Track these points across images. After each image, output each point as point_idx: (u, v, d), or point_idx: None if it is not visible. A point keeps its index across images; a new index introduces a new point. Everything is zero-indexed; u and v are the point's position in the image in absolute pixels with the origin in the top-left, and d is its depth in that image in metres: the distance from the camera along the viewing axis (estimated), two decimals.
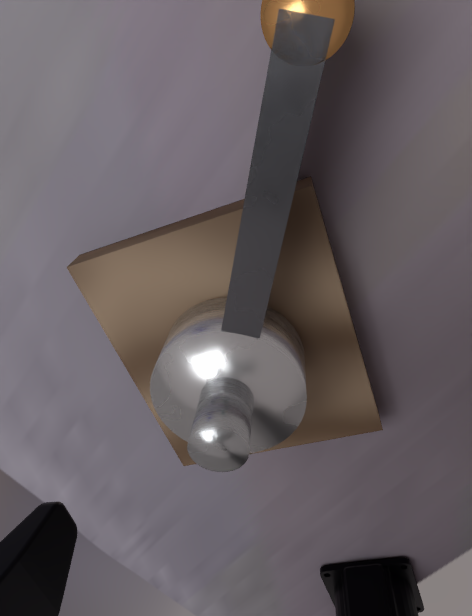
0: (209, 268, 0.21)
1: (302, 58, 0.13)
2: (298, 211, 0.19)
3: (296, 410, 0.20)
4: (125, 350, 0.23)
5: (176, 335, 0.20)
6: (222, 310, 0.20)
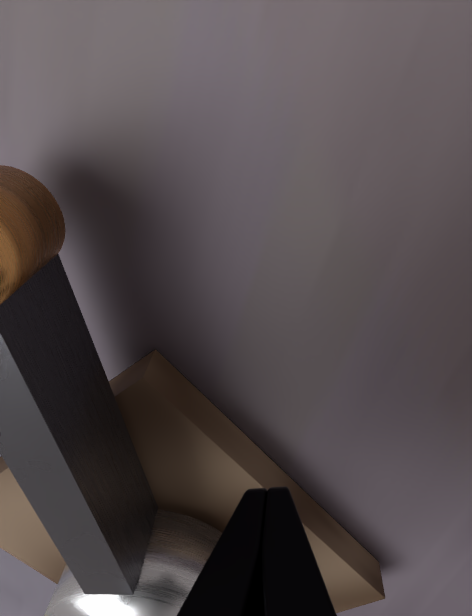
0: None
1: None
2: (144, 407, 0.14)
3: None
4: (48, 571, 0.20)
5: (57, 587, 0.16)
6: None
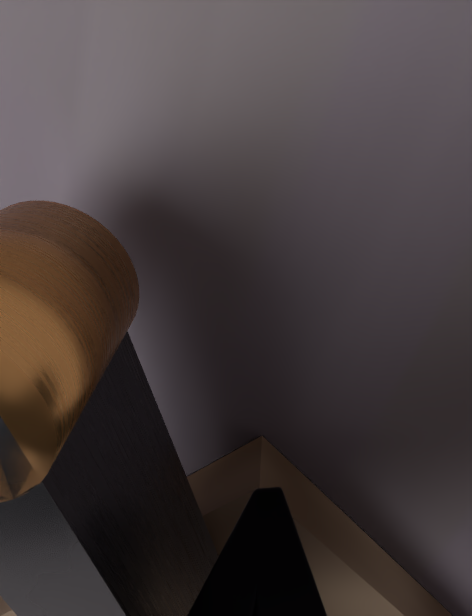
0: None
1: None
2: None
3: None
4: None
5: None
6: None
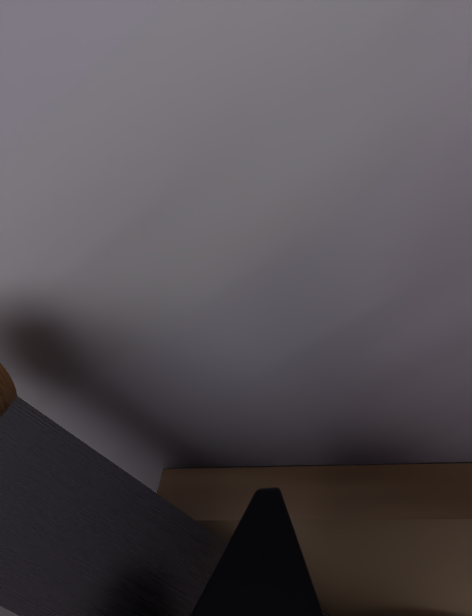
0: (431, 576, 0.11)
1: None
2: None
3: None
4: None
5: None
6: None
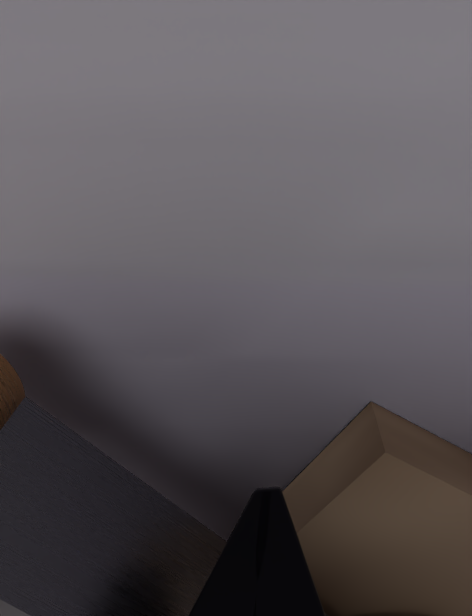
0: None
1: None
2: None
3: None
4: None
5: None
6: None
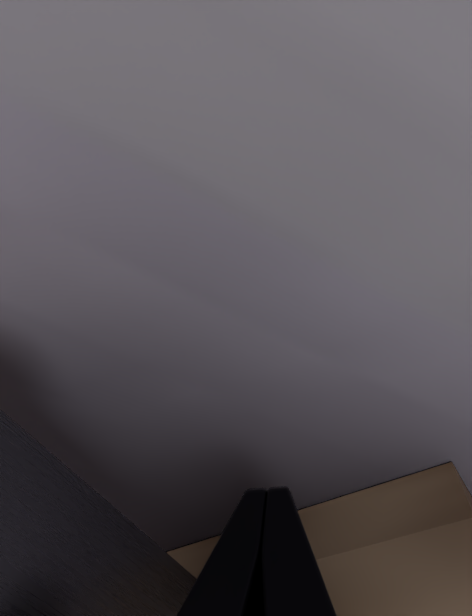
0: None
1: None
2: None
3: None
4: None
5: None
6: None
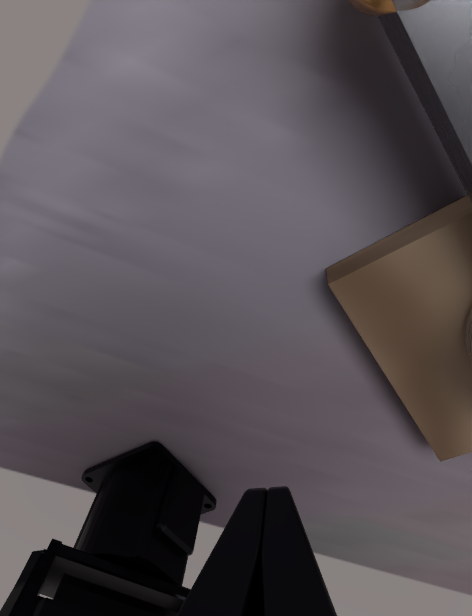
0: None
1: None
2: None
3: None
4: None
5: None
6: None
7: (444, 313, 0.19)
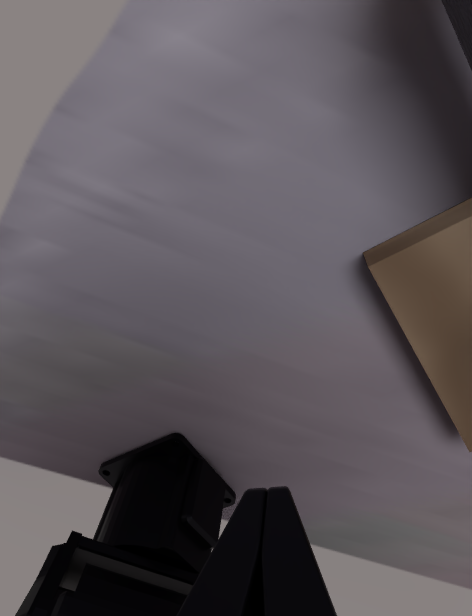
0: None
1: None
2: None
3: None
4: None
5: None
6: None
7: None
